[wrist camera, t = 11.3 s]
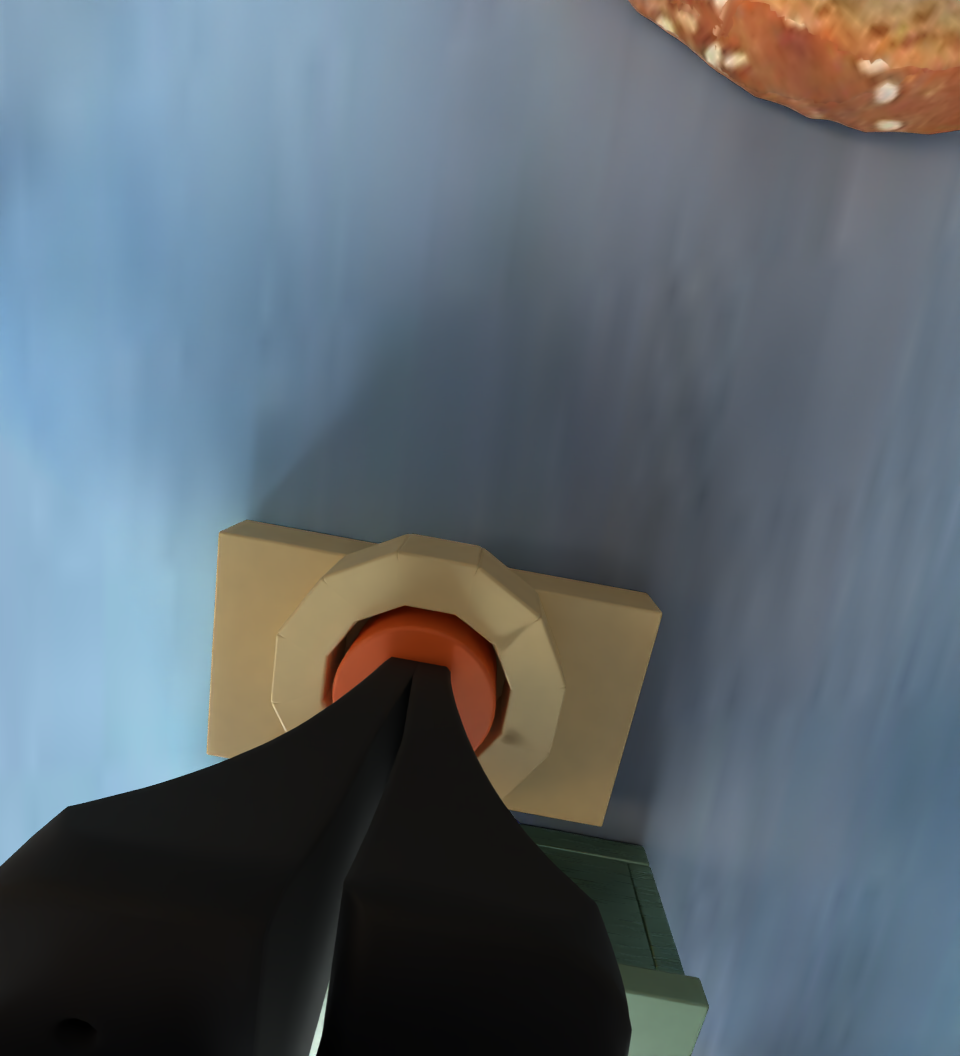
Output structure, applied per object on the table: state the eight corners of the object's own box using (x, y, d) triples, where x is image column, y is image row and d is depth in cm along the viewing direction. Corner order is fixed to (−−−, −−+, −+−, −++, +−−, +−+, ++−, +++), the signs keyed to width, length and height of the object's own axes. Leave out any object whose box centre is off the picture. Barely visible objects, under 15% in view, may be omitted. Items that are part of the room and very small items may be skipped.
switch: (508, 611, 12) (510, 644, 11) (482, 738, 13) (480, 788, 11) (362, 584, 12) (340, 612, 11) (346, 713, 13) (322, 759, 11)
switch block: (656, 563, 14) (698, 606, 11) (593, 790, 15) (614, 881, 12) (248, 488, 14) (177, 510, 11) (231, 723, 15) (167, 799, 12)
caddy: (230, 769, 16) (137, 893, 12) (644, 845, 16) (692, 996, 12) (217, 942, 17) (133, 1104, 13) (592, 1011, 17) (619, 1194, 13)
